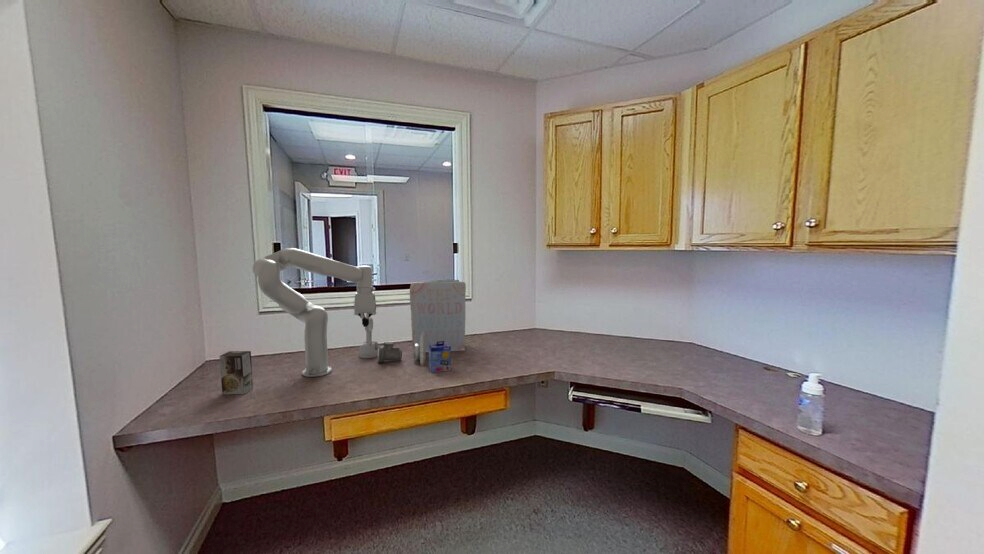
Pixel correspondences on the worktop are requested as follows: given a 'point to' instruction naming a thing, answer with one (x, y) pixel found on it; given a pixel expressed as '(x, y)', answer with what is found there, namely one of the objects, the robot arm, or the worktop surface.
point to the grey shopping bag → (438, 313)
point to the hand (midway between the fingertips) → (365, 326)
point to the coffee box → (236, 372)
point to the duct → (420, 349)
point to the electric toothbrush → (369, 343)
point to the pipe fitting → (389, 353)
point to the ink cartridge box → (439, 357)
